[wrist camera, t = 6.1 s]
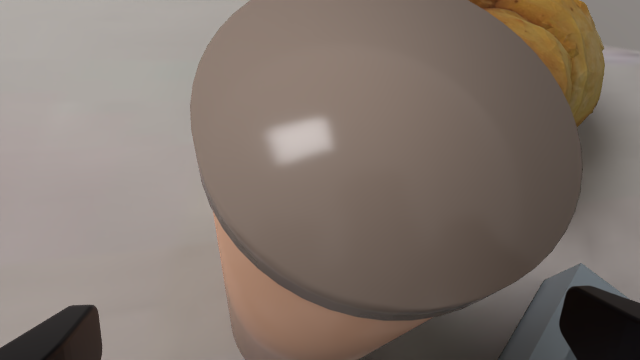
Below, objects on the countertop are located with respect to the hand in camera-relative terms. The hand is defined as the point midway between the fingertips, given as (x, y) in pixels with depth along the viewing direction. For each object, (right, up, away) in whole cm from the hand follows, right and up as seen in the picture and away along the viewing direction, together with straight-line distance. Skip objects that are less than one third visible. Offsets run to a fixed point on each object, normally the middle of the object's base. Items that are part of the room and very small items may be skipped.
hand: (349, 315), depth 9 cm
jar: (-1, -3, +9) cm, 9 cm away
